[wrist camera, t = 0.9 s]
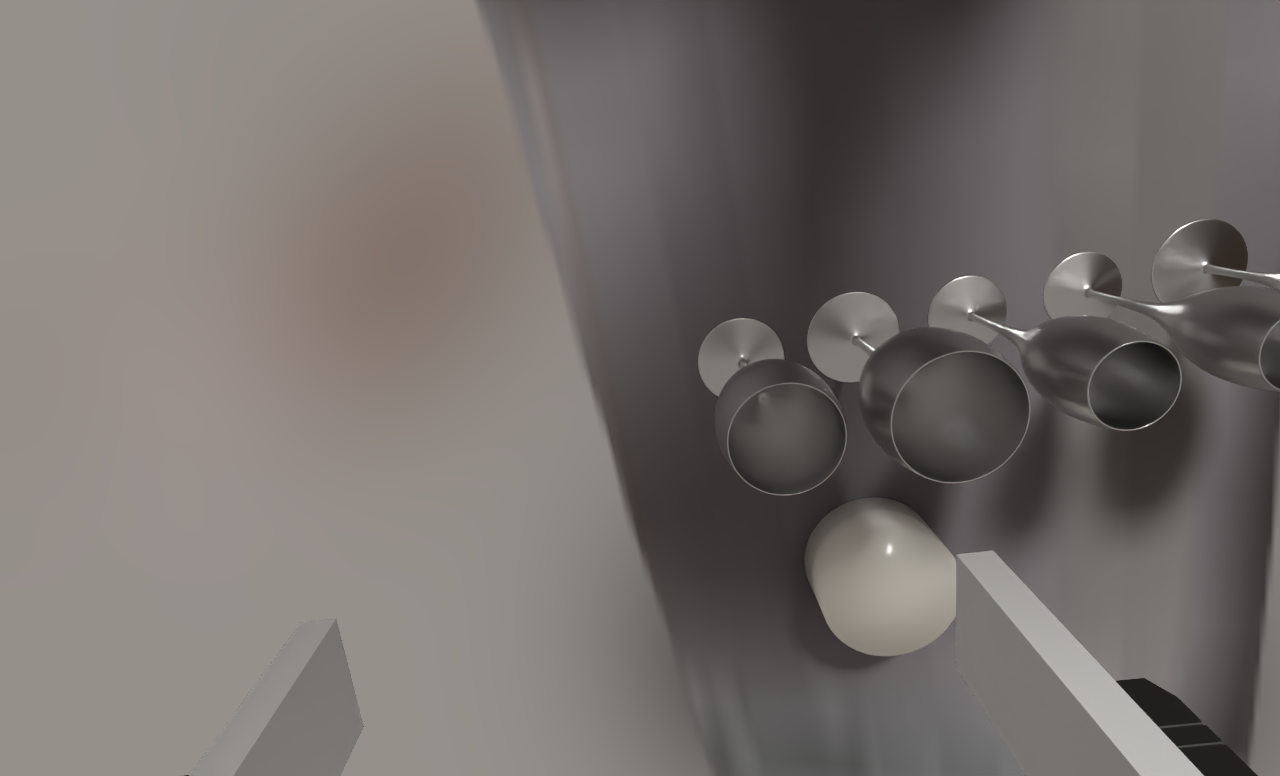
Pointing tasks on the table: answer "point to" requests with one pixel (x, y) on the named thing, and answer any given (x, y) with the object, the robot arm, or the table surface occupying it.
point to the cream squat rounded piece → (881, 577)
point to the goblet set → (989, 364)
